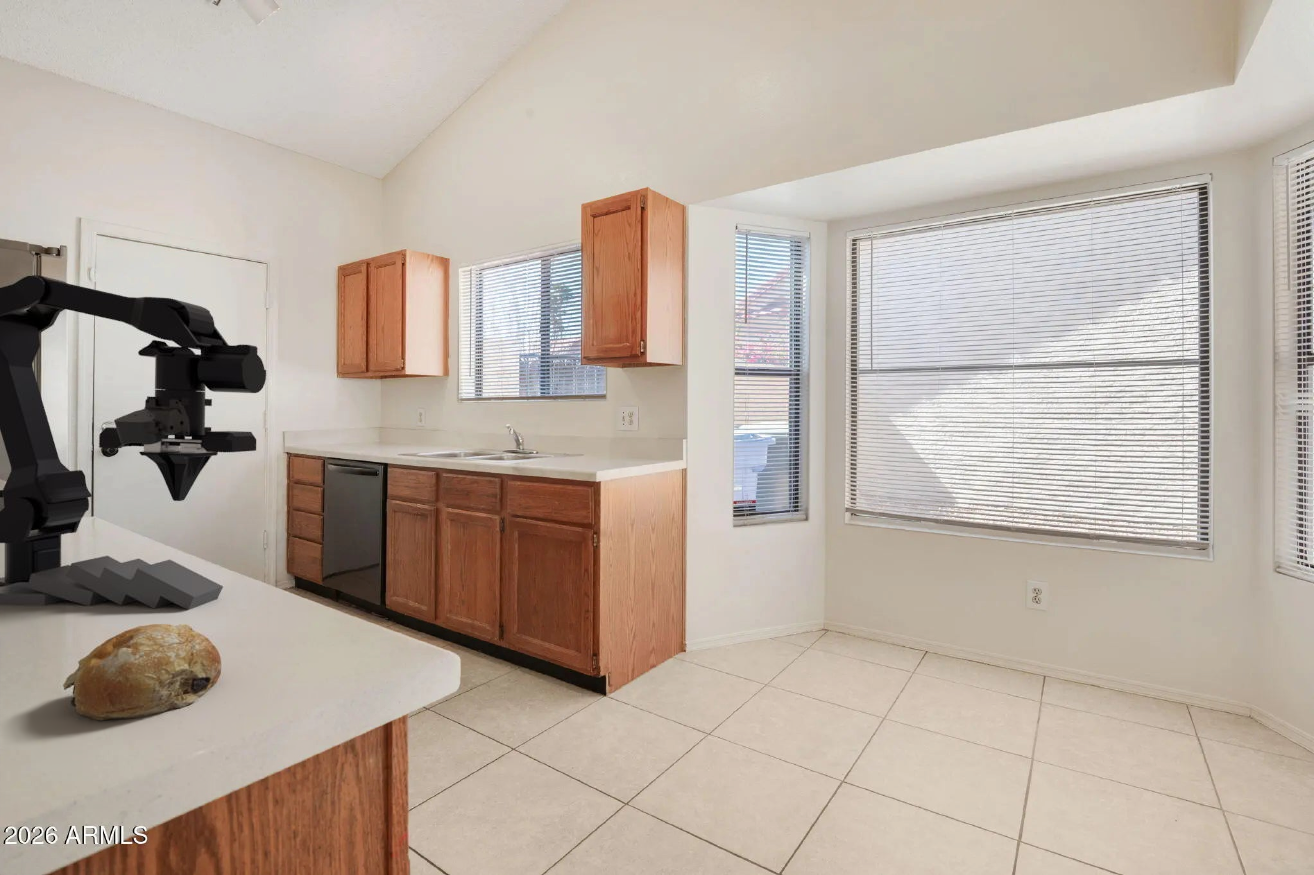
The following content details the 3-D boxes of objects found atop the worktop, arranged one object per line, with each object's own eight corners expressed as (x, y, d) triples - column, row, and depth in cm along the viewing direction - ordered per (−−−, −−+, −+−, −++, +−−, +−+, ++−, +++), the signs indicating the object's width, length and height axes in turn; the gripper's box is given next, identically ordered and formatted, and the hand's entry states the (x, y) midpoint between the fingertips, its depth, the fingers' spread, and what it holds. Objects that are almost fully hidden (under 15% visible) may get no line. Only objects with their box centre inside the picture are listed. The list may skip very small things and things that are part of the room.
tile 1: (44, 608, 79) (-22, 607, 78) (80, 597, 84) (18, 596, 83) (44, 594, 79) (-22, 592, 78) (80, 583, 84) (18, 582, 83)
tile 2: (89, 606, 79) (27, 587, 79) (122, 595, 84) (64, 577, 84) (93, 592, 79) (31, 574, 79) (126, 582, 84) (68, 564, 84)
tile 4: (154, 608, 79) (98, 579, 79) (186, 597, 84) (133, 570, 84) (160, 596, 78) (104, 567, 79) (191, 585, 83) (138, 558, 84)
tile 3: (120, 605, 79) (65, 576, 79) (153, 595, 84) (101, 567, 84) (126, 592, 79) (71, 563, 79) (159, 583, 84) (107, 555, 84)
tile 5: (188, 609, 78) (131, 581, 79) (217, 598, 83) (164, 571, 84) (194, 597, 78) (137, 568, 78) (223, 586, 83) (169, 559, 83)
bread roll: (133, 771, 50) (176, 682, 50) (17, 712, 50) (60, 622, 50) (221, 713, 60) (258, 638, 59) (125, 663, 60) (161, 589, 59)
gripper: (60, 385, 81) (59, 505, 82) (203, 390, 81) (200, 511, 81) (134, 389, 93) (132, 495, 93) (259, 394, 92) (257, 500, 93)
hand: (178, 500), depth 90 cm, fingers closed
